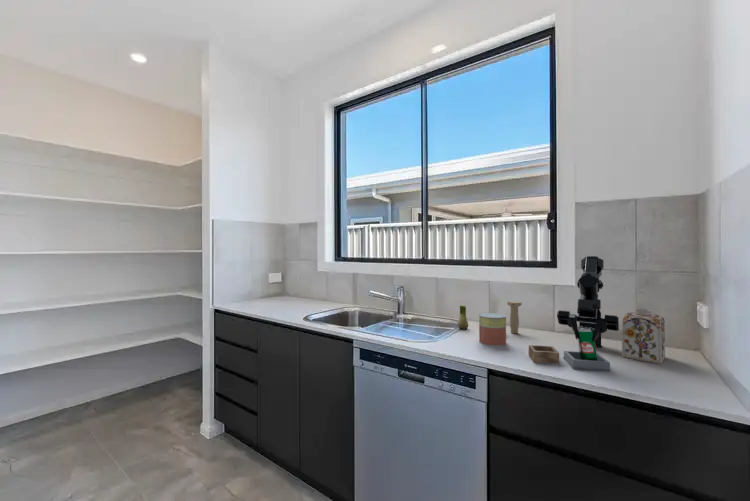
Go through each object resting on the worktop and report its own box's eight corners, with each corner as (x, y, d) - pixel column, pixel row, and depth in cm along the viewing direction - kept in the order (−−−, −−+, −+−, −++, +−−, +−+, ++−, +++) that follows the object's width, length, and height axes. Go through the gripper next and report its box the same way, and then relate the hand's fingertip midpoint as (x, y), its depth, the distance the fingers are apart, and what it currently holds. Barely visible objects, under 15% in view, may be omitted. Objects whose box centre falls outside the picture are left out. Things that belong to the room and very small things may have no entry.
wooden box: (552, 356, 129) (552, 346, 129) (559, 364, 121) (559, 352, 121) (528, 355, 131) (528, 344, 131) (533, 362, 123) (533, 351, 123)
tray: (596, 360, 124) (596, 352, 124) (610, 371, 114) (609, 362, 114) (563, 358, 127) (563, 350, 127) (573, 368, 116) (573, 360, 116)
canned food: (508, 341, 151) (508, 314, 151) (503, 347, 142) (503, 318, 142) (482, 337, 157) (482, 311, 157) (475, 343, 148) (475, 316, 148)
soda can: (579, 363, 120) (574, 328, 120) (583, 359, 123) (579, 326, 124) (595, 364, 116) (591, 329, 117) (599, 361, 120) (595, 326, 120)
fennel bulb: (458, 327, 179) (458, 304, 179) (468, 327, 178) (468, 304, 178) (458, 329, 174) (458, 306, 173) (468, 330, 172) (468, 306, 172)
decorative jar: (627, 350, 136) (627, 305, 136) (665, 357, 128) (665, 309, 128) (621, 357, 128) (621, 309, 128) (661, 364, 120) (661, 313, 120)
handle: (520, 334, 162) (520, 303, 162) (506, 333, 166) (506, 302, 166) (522, 332, 166) (522, 301, 166) (508, 331, 170) (508, 300, 170)
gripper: (557, 288, 129) (552, 323, 120) (618, 292, 117) (616, 330, 109) (561, 306, 135) (556, 340, 127) (619, 311, 124) (618, 349, 115)
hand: (585, 340), depth 119 cm, fingers closed on soda can, 5 cm apart
